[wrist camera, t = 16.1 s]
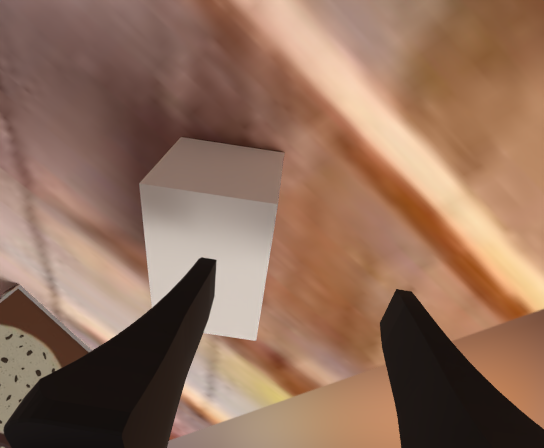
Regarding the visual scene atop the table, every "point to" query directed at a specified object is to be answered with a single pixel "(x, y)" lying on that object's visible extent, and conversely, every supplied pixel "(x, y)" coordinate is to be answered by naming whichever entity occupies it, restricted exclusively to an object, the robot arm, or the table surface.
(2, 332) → the food container
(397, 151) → the table surface
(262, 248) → the white block
